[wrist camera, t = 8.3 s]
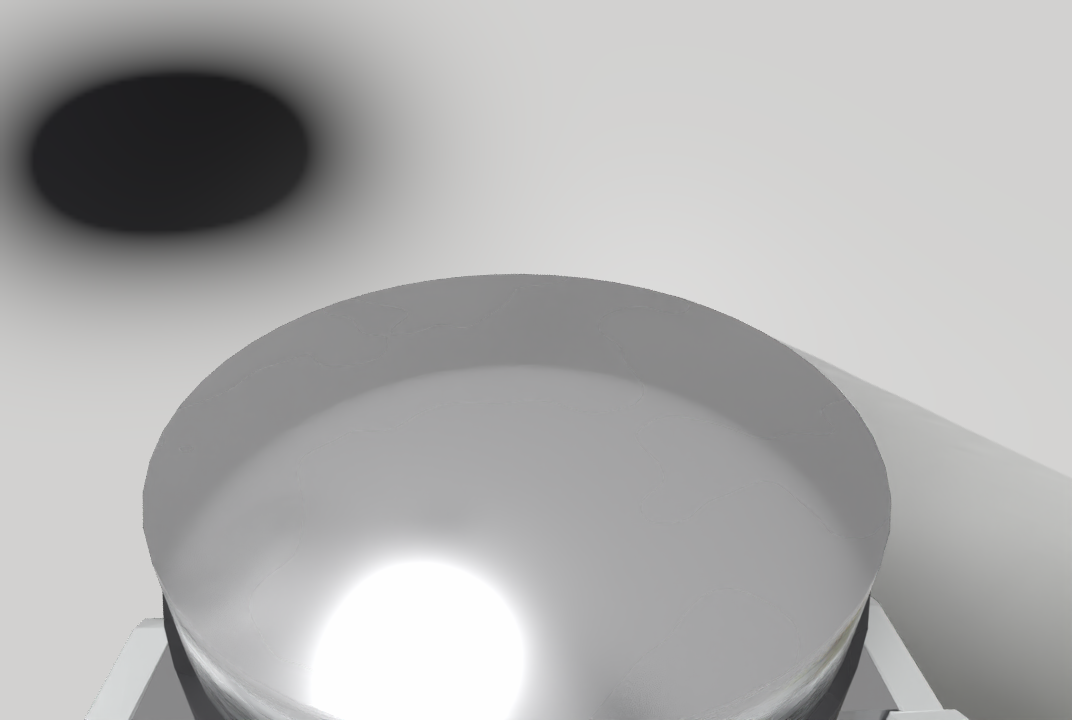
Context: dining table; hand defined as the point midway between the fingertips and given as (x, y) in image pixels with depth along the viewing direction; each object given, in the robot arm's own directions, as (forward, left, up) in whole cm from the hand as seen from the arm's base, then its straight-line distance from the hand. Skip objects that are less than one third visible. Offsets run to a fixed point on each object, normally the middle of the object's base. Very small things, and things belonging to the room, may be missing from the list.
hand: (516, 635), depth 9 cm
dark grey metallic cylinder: (0, -1, -6) cm, 6 cm away
